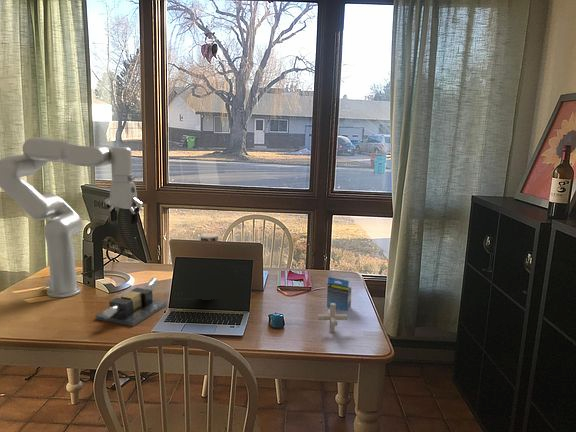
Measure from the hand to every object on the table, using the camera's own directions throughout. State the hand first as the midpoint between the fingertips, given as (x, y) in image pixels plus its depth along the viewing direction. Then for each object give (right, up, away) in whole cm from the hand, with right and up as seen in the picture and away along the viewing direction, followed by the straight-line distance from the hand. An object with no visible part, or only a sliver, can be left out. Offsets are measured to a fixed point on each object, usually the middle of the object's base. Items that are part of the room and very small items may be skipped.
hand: (124, 222), depth 187 cm
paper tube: (+32, -30, +9) cm, 45 cm away
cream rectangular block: (+7, -33, -11) cm, 36 cm away
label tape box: (+84, -33, -2) cm, 91 cm away
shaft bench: (+7, -33, -11) cm, 36 cm away
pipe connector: (+80, -38, -23) cm, 91 cm away
